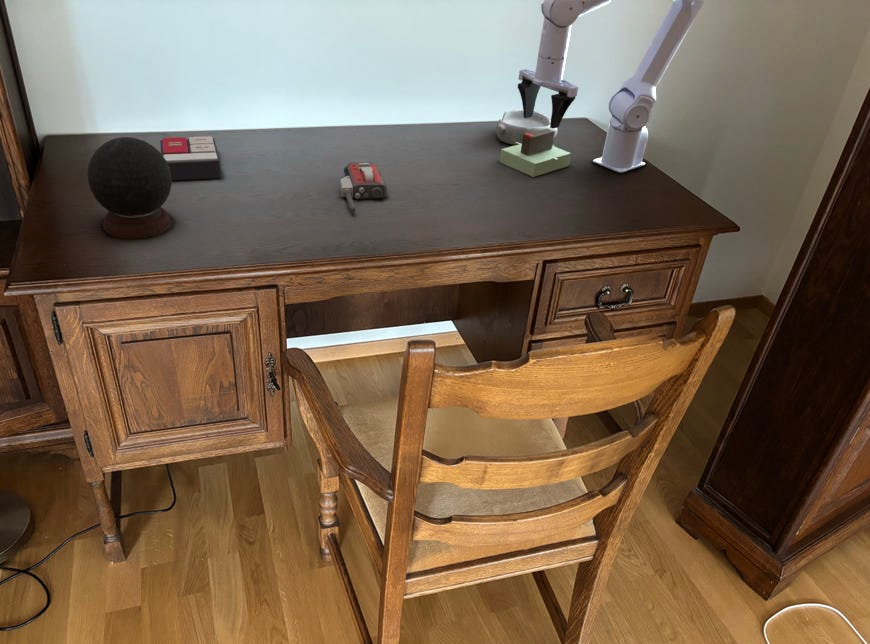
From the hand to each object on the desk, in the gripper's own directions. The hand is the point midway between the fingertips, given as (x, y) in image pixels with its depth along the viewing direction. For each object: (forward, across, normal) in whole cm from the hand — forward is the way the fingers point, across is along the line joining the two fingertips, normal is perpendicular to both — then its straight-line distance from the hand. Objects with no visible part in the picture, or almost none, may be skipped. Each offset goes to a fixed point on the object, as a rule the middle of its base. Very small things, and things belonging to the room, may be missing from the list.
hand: (541, 122), depth 160 cm
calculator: (+10, -38, -64) cm, 74 cm away
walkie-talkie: (+10, -8, -42) cm, 44 cm away
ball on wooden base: (+10, -18, -84) cm, 86 cm away
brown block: (+6, 0, 0) cm, 6 cm away
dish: (+10, -13, +11) cm, 19 cm away
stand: (+9, 0, 0) cm, 9 cm away
